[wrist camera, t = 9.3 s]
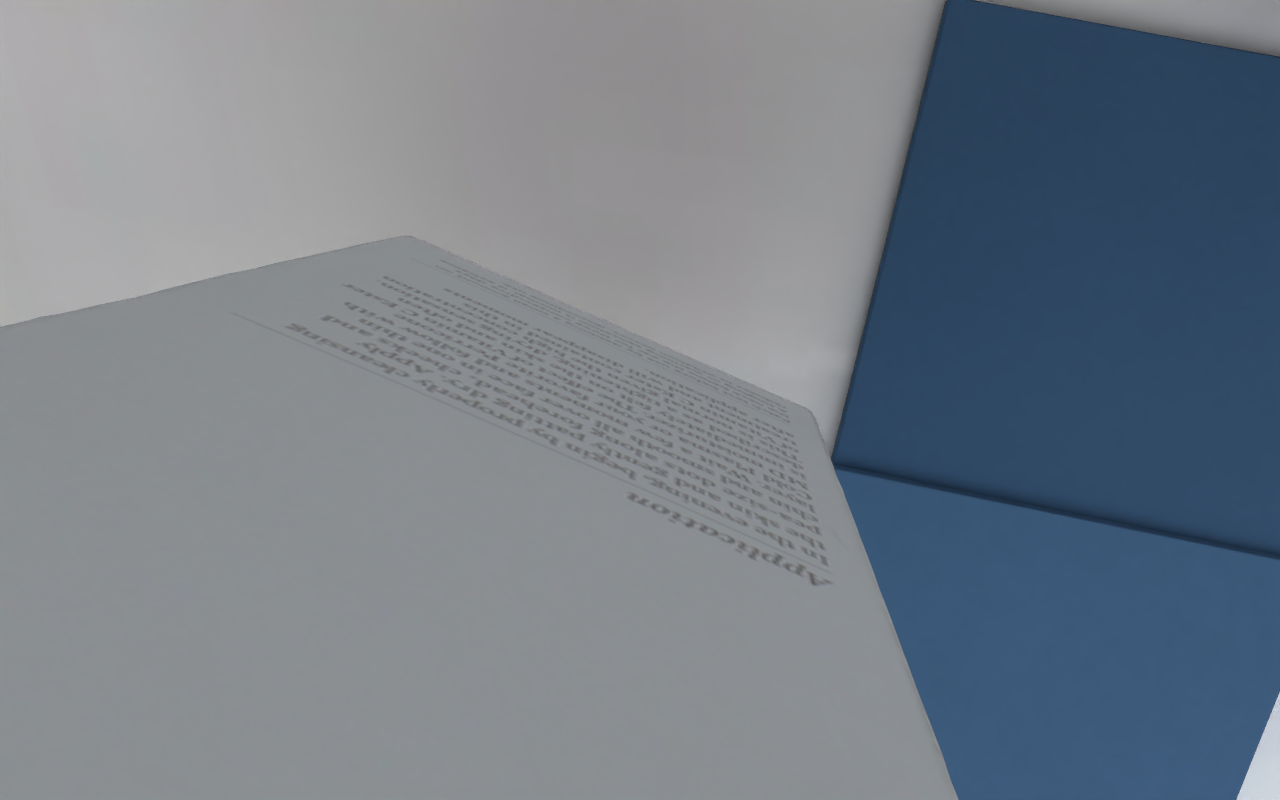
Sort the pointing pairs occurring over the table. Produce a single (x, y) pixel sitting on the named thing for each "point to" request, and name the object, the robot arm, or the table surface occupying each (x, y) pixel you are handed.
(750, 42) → the table surface
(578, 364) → the small box
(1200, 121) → the cloth
